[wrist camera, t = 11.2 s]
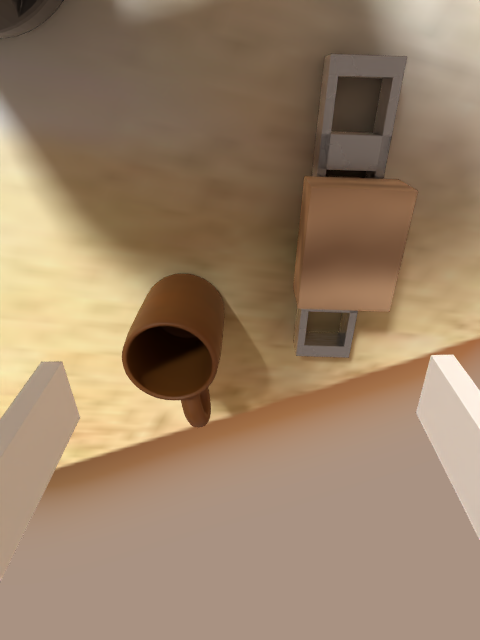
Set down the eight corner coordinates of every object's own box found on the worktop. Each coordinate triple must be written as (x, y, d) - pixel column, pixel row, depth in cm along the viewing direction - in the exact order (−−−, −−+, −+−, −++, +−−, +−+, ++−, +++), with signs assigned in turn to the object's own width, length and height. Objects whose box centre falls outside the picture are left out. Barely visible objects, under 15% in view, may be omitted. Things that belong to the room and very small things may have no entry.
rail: (324, 56, 29) (331, 53, 27) (394, 58, 29) (407, 56, 27) (293, 341, 41) (296, 355, 39) (343, 342, 41) (348, 357, 39)
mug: (245, 366, 43) (244, 432, 34) (176, 380, 44) (159, 447, 35) (212, 261, 37) (202, 311, 29) (134, 280, 38) (103, 332, 30)
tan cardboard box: (299, 169, 33) (311, 187, 27) (386, 172, 33) (418, 191, 27) (290, 272, 37) (297, 308, 31) (366, 275, 37) (389, 311, 31)
